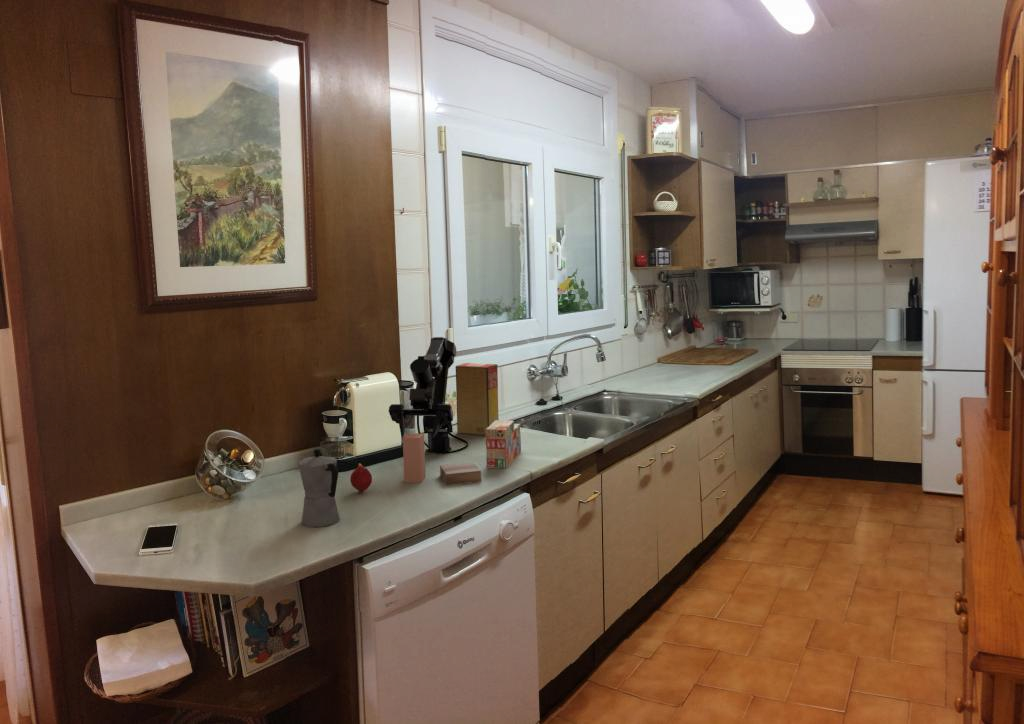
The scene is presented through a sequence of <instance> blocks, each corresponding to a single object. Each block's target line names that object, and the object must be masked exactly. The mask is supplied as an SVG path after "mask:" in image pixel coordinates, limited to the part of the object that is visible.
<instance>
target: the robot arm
mask: <svg viewBox="0 0 1024 724" xmlns="http://www.w3.org/2000/svg"><path fill="white" fill-rule="evenodd" d="M455 357H457V346H456V345H455V343H454V342H452V341H450V340H448V339H447V337H444V336H434V337H431V338H430V343H429V347H428V349H427V351H426V354H425V355H418V356H417V359H415V360H413V361H412V362H411V363H410V365H409V369H410V371H411V374H412V377H413V381H414V383H415V384H416V385H415V388H410V389H409V398H408V400H409V401H410V406H411V407H412V408H405V407H404V404H403V403H393V404H392V403H391V404H390V406H389V407H388V413H389V416H390V419H391V421H393V422H395V423H396V424H398V425H399V430H400V436H401V438H403V437H404V436H405V431H406V430H405V429H406V417H407V416H419V417H420V416H421V417H422V425H423V426H422V427H423V434H424V435H425V434H427V447H428V448H426V449H425V452H428V453H436V454H442V453H446V452H447V451H450V450H452V449H453V448H452V447H450V446H451V444H450V443H451V442H450V436H449V434H452V433H453V432H454V431H453V424H452V422H453V421H454V411H453V406H452V404H450V403H446V395H447V389H448V388H447V386H448V378H449V369H450V368H451V366H453V364H454V363H455Z"/></svg>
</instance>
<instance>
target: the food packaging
mask: <svg viewBox="0 0 1024 724" xmlns="http://www.w3.org/2000/svg"><path fill="white" fill-rule="evenodd" d="M498 375H499V374H498V364H497V363H474V362H473V363H471V362H465V363H461V364H458V365H455V385H456V386H455V387H456V388H455V390H456V423H457V424H456V427H457V429H456V430H457V431H456V432H457V434H462V435H473V436H485V437H486V428H488V427H489V426H490V425H491V424H492V423H493V422H494V421H495V420H499V386H498V385H499V377H498Z"/></svg>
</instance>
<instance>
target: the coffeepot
mask: <svg viewBox="0 0 1024 724" xmlns="http://www.w3.org/2000/svg"><path fill="white" fill-rule="evenodd" d="M313 454H314V455H313V456H307V457H303V458H302V460H299V461H297V463H298V467H299V472H300V477H301V482H302V486H303V490H304V495H305V496H304V498H303V506H302V507H303V508H302V516H301V522H302V525H303V526H305V527H307V528H324V527H329V526H333V525H335V524H337V523H338V522H339V521H340V520H341V519H340V515H339V510H338V505H337V502H336V498H335V496H336V492H337V484H338V478H339V470H338V468H337V465H338V464H337V463H338V460H337V459H336V457H331V456H324V455H323V456H321V455H320V454H321V449H320V448H316V449H313Z"/></svg>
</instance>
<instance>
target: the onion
mask: <svg viewBox="0 0 1024 724" xmlns="http://www.w3.org/2000/svg"><path fill="white" fill-rule="evenodd" d="M349 478H350V484H351V486H352V487H353V488H354V489H355V490H357V491H358V492H359V493H364V492H365V491H366V490H367V489H368V488H369V487H370V486H371V485H372V482H373V476H372V473H371V472H370V471H369V469H368V468H366V467H365V466H364V465H362V464H361V463H358V465H357V467H356V468H355V469H354V470H353V471H352V473H351V475H350V477H349Z"/></svg>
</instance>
